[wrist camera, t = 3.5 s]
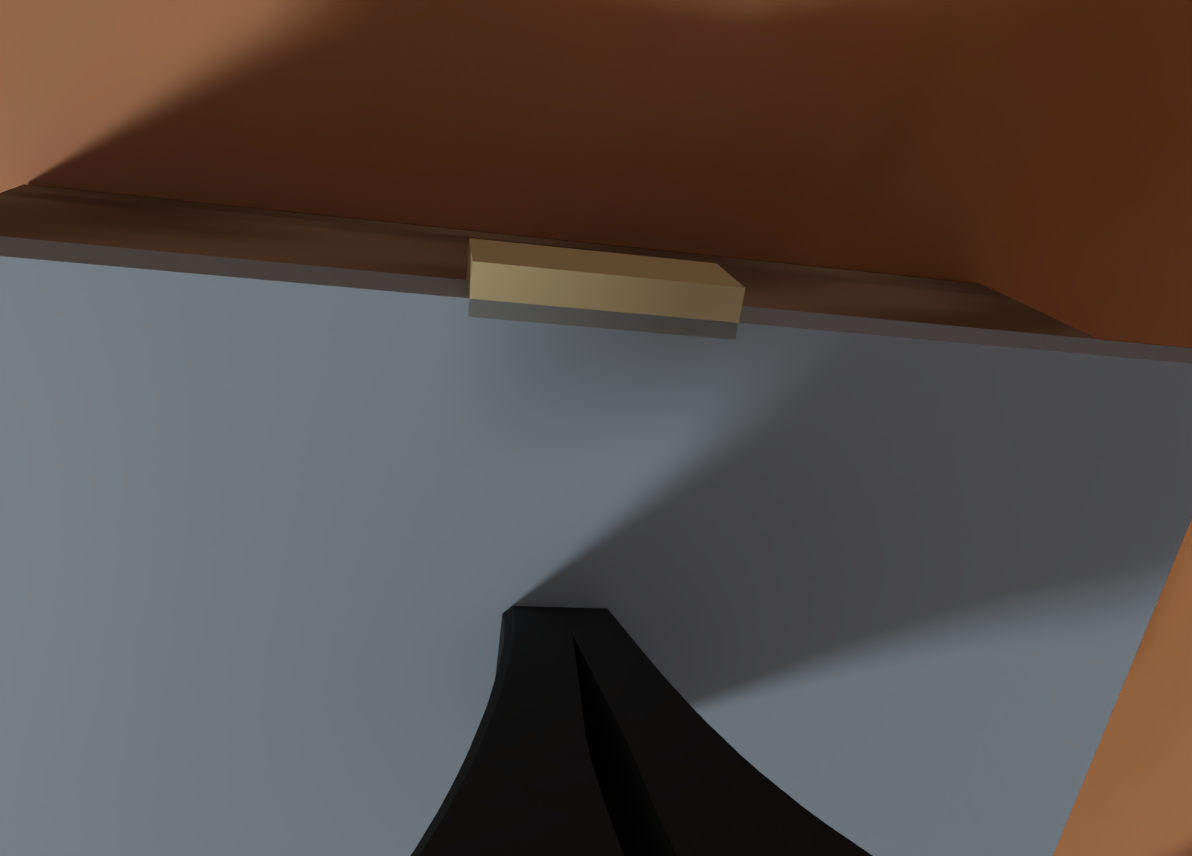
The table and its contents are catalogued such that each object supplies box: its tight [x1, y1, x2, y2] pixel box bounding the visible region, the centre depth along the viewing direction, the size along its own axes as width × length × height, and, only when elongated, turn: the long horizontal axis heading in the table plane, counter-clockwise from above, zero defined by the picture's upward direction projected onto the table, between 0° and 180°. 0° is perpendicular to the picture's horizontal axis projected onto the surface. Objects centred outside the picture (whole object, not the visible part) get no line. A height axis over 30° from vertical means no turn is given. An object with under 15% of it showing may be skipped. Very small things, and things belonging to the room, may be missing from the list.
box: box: [0, 184, 1096, 339], centre depth 16 cm, size 16×12×5 cm
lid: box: [0, 236, 1192, 856], centre depth 13 cm, size 17×13×1 cm
